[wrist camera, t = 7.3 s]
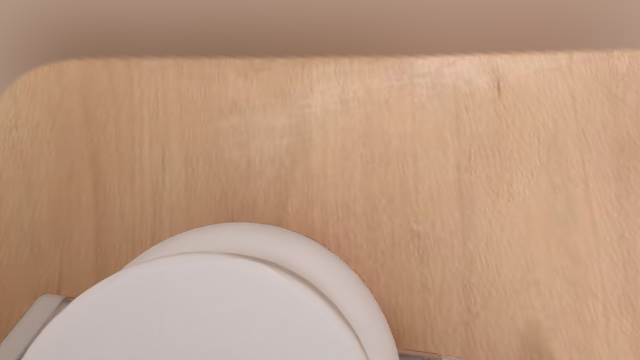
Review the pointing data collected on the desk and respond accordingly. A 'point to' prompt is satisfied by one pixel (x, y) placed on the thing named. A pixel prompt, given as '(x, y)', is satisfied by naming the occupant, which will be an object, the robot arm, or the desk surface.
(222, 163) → the desk surface
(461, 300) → the desk surface
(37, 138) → the desk surface
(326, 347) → the pill bottle
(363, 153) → the desk surface
